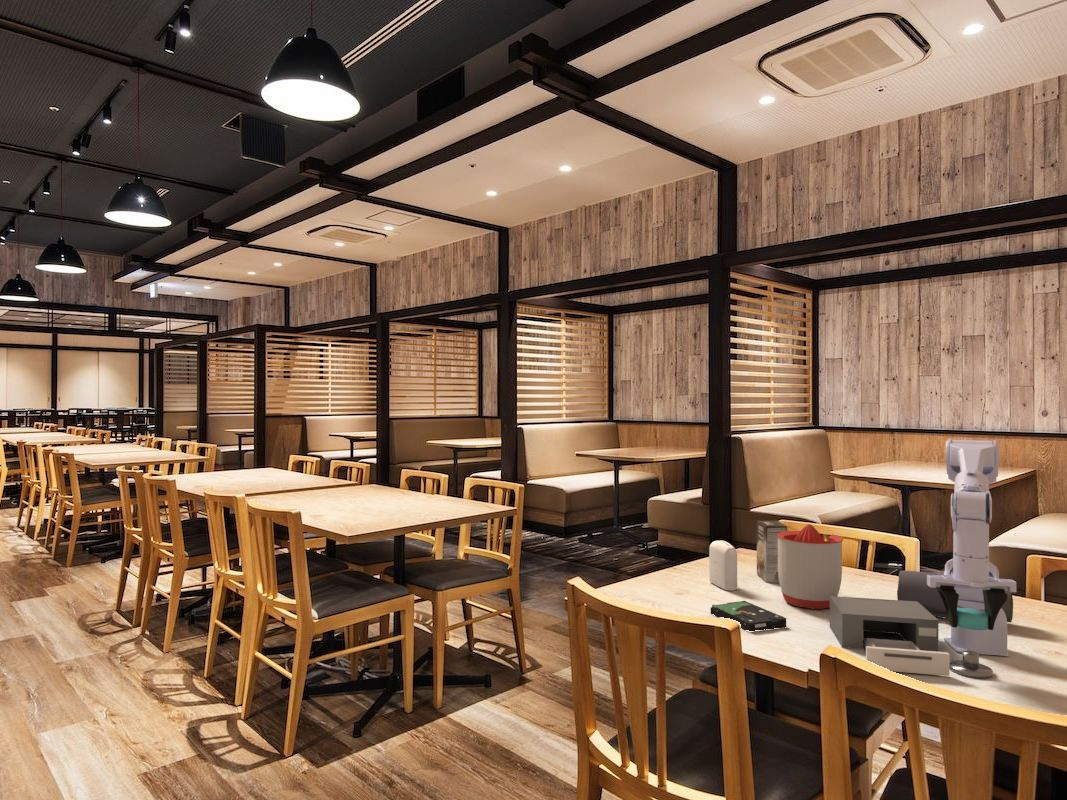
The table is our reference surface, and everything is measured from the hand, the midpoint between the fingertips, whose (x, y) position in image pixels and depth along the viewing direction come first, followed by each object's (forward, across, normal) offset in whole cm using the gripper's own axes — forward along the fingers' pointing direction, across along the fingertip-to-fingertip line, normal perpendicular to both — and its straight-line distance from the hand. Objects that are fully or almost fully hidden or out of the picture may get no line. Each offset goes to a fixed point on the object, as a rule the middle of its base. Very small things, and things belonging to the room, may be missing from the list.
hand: (970, 627), depth 131 cm
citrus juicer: (+9, -22, +41) cm, 47 cm away
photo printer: (+9, -43, +52) cm, 68 cm away
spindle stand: (+8, 0, 0) cm, 8 cm away
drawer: (+8, -12, +4) cm, 15 cm away
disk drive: (+9, -39, +22) cm, 46 cm away
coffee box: (+9, -29, +64) cm, 71 cm away
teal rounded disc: (0, 0, 0) cm, 0 cm away
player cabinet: (+8, -12, +15) cm, 21 cm away
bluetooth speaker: (+9, +9, +36) cm, 38 cm away
